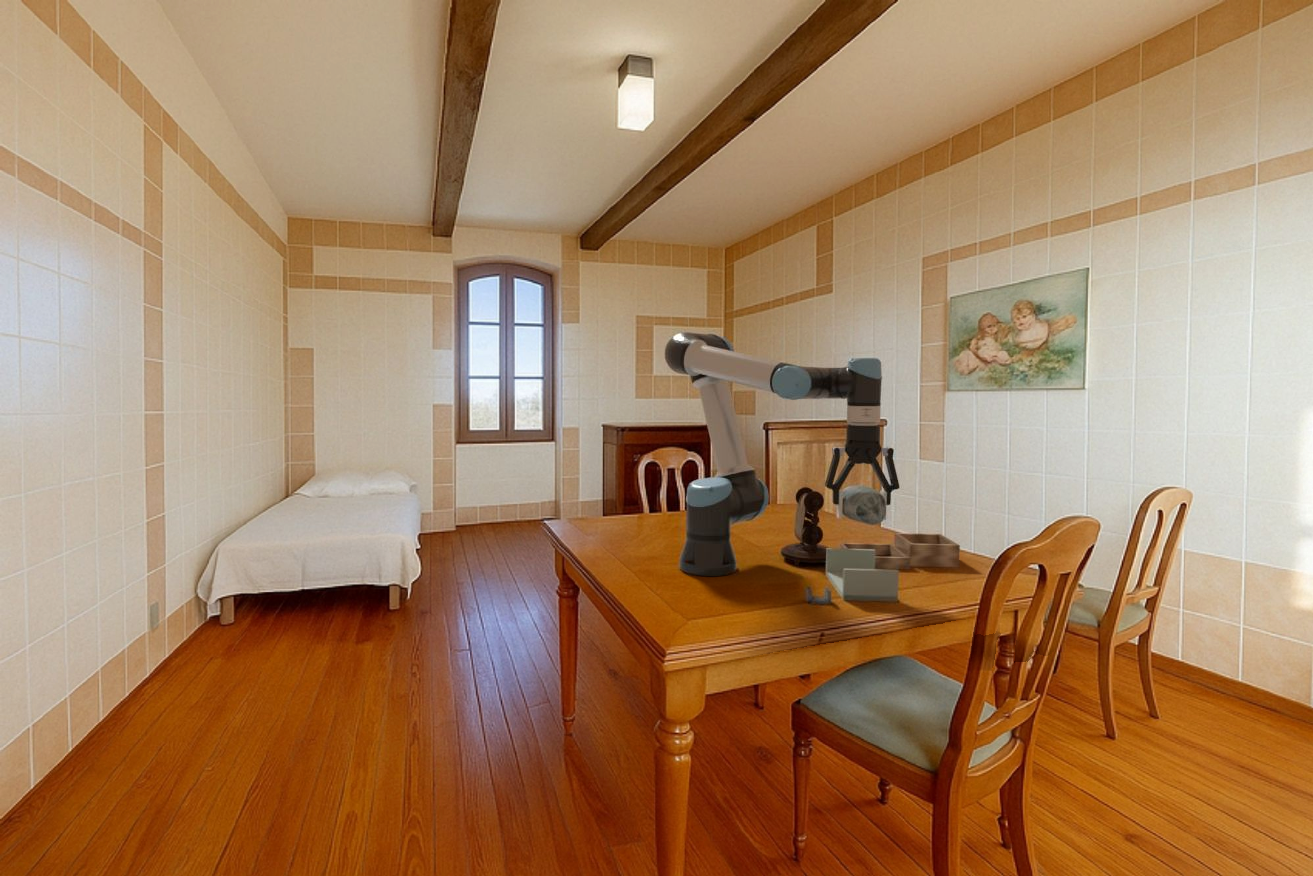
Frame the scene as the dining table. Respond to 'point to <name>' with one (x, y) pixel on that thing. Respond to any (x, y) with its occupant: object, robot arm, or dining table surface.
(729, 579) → the dining table surface
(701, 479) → the robot arm
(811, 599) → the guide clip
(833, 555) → the holder
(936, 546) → the frame
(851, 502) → the grey oval rock
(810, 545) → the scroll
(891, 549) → the frame
